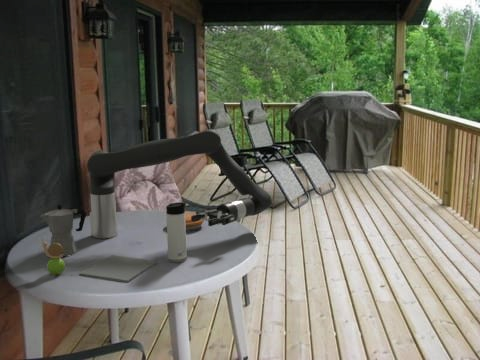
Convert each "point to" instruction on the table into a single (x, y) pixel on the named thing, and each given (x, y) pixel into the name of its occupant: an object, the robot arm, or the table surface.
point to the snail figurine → (54, 257)
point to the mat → (119, 268)
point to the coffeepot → (64, 227)
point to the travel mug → (176, 232)
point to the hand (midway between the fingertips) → (200, 221)
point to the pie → (190, 224)
